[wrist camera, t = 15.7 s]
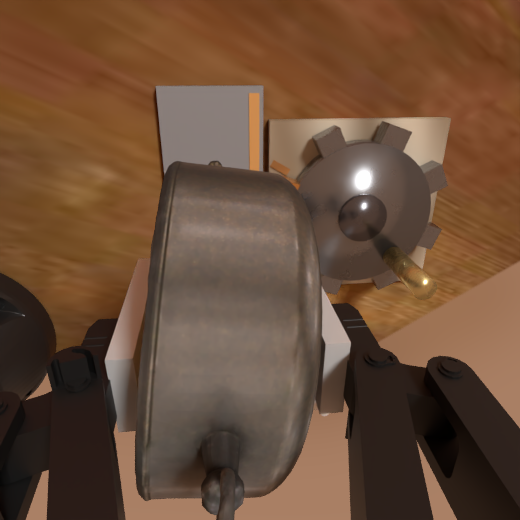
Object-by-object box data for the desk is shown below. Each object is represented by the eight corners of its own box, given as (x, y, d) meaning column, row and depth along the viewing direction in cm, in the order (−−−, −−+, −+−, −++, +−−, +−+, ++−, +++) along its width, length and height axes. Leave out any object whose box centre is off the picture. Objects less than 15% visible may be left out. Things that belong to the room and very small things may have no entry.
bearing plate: (266, 284, 40) (267, 288, 39) (268, 119, 33) (269, 120, 33) (416, 275, 41) (420, 280, 41) (445, 117, 35) (451, 118, 34)
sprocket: (391, 300, 41) (429, 350, 34) (246, 263, 37) (255, 310, 30) (468, 153, 35) (533, 176, 28) (307, 92, 32) (336, 102, 25)
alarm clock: (181, 130, 18) (-28, 398, 4) (301, 148, 19) (541, 435, 4) (167, 337, 23) (50, 829, 8) (265, 345, 23) (320, 817, 9)
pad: (172, 255, 37) (172, 258, 37) (156, 85, 31) (155, 86, 31) (261, 251, 38) (262, 254, 38) (262, 85, 32) (263, 86, 32)
